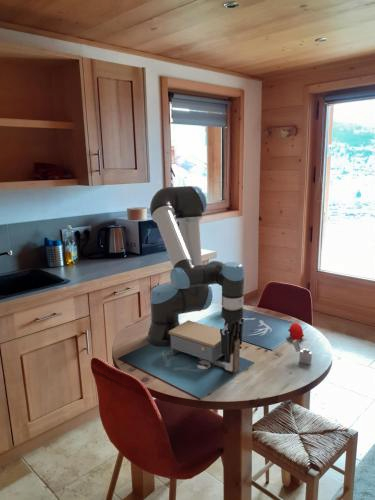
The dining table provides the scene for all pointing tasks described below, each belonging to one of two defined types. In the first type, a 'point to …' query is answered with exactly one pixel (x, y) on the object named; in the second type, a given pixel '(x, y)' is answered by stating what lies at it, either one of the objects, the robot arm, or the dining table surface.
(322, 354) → the dining table surface
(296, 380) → the dining table surface
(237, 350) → the blade tool
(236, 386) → the dining table surface
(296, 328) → the red egg shape
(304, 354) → the lighter
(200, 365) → the steel token
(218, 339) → the cabinet
